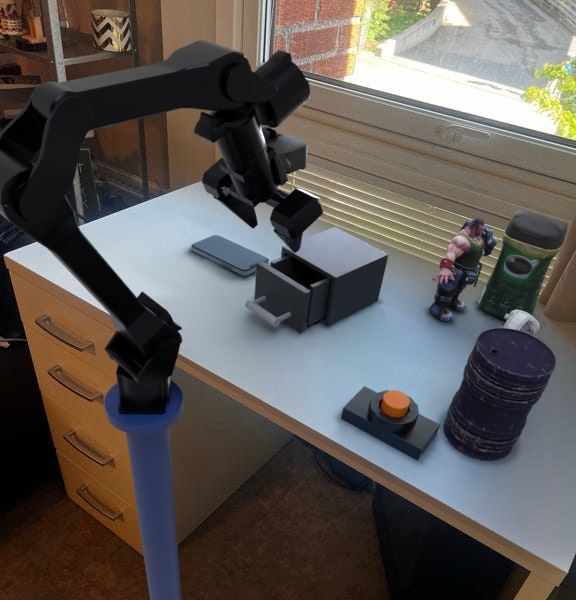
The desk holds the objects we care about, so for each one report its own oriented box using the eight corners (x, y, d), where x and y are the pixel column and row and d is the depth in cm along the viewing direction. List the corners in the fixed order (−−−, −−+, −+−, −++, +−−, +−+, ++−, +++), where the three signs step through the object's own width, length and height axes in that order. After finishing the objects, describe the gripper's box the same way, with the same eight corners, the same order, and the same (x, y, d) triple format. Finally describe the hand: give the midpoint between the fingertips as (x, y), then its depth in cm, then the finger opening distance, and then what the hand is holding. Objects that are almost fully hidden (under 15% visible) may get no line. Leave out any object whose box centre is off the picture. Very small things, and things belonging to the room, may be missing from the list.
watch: (523, 370, 90) (550, 313, 83) (501, 391, 85) (527, 334, 78) (492, 353, 93) (516, 297, 86) (469, 373, 88) (492, 316, 81)
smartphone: (216, 233, 114) (271, 258, 107) (216, 240, 115) (270, 266, 108) (188, 244, 109) (244, 271, 102) (188, 252, 110) (244, 279, 103)
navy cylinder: (494, 409, 82) (533, 326, 72) (526, 459, 75) (573, 375, 65) (432, 412, 80) (462, 328, 71) (458, 464, 73) (496, 378, 63)
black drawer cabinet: (327, 327, 94) (336, 277, 88) (277, 294, 101) (281, 246, 94) (377, 301, 102) (388, 254, 96) (328, 272, 108) (335, 226, 102)
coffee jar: (535, 312, 104) (578, 218, 92) (522, 330, 99) (566, 233, 87) (486, 292, 108) (521, 200, 96) (471, 309, 103) (506, 214, 91)
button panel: (339, 419, 78) (344, 398, 75) (362, 396, 82) (367, 375, 79) (417, 462, 73) (424, 441, 70) (437, 434, 77) (444, 414, 74)
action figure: (437, 341, 94) (470, 243, 82) (404, 324, 97) (431, 227, 85) (488, 299, 106) (523, 209, 94) (457, 285, 109) (488, 196, 97)
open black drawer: (281, 343, 88) (286, 301, 83) (235, 310, 94) (237, 270, 89) (350, 309, 97) (357, 269, 92) (304, 281, 103) (309, 242, 98)
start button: (375, 409, 74) (378, 400, 73) (388, 395, 77) (390, 386, 76) (399, 422, 73) (402, 412, 72) (411, 407, 75) (414, 398, 74)
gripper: (341, 132, 67) (358, 227, 80) (240, 92, 76) (270, 183, 89) (277, 190, 64) (305, 278, 77) (181, 141, 73) (221, 227, 87)
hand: (275, 238), depth 83 cm, fingers open, 9 cm apart
